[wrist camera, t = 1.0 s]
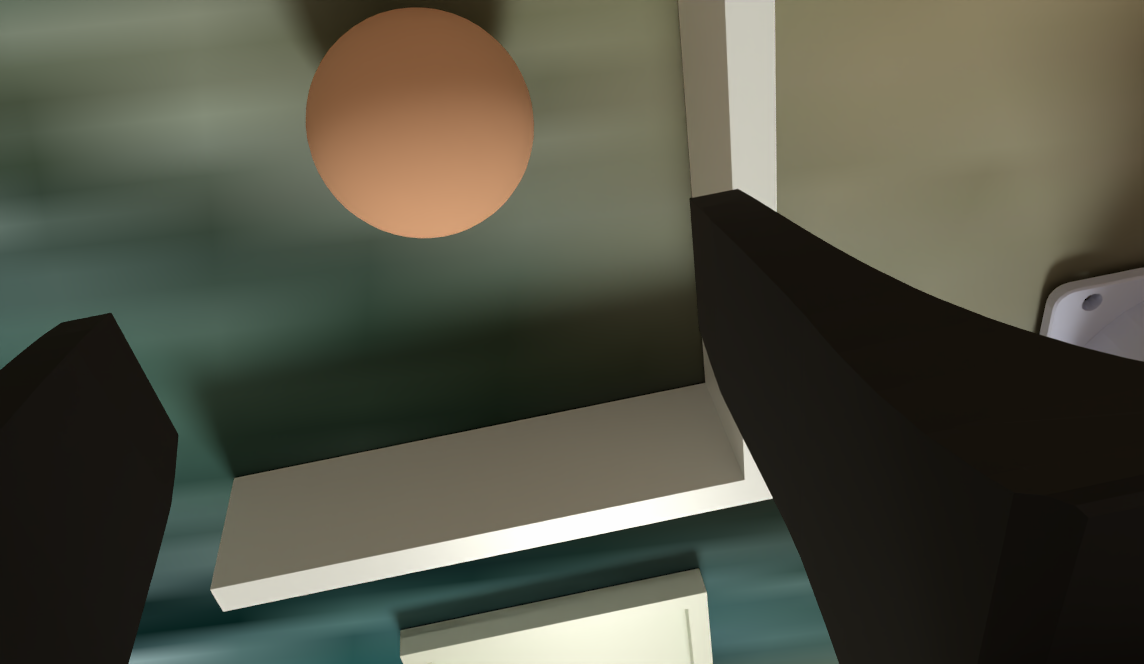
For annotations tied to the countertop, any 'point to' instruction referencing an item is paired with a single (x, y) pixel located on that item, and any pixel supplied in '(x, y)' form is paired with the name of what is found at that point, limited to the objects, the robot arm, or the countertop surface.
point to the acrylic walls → (541, 444)
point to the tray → (579, 629)
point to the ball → (419, 122)
